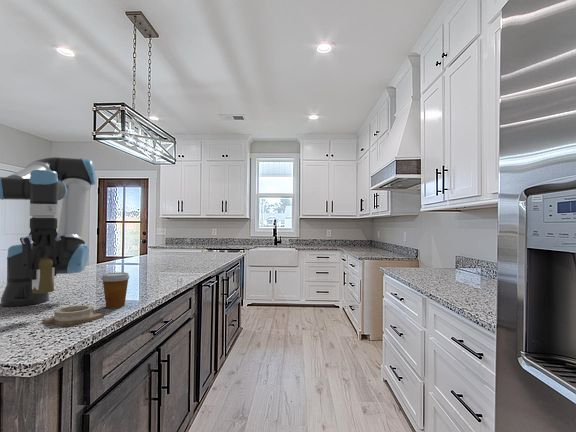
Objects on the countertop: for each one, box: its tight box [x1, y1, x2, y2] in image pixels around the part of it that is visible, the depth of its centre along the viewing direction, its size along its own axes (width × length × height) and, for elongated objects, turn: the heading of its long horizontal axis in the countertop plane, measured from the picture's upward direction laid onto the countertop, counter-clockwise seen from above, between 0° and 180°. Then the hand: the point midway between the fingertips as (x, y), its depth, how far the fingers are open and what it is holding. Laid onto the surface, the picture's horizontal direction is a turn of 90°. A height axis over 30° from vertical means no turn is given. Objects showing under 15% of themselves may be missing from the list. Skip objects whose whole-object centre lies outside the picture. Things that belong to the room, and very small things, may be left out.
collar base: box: [41, 304, 105, 328], centre depth 112 cm, size 12×12×4 cm
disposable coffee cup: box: [101, 271, 130, 309], centre depth 131 cm, size 10×10×12 cm
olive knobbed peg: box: [32, 258, 55, 294], centre depth 115 cm, size 6×6×11 cm
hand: (43, 287), depth 115 cm, fingers closed on olive knobbed peg, 4 cm apart
